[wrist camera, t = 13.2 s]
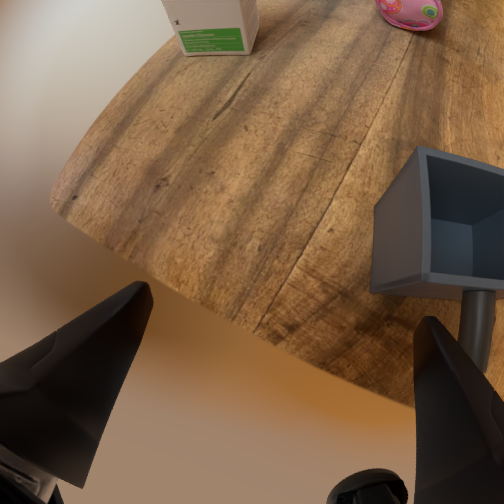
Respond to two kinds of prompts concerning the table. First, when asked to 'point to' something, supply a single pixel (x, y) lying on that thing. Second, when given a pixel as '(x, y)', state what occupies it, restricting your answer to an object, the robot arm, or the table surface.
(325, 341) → the table surface
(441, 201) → the grey box with peg
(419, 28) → the pencil case
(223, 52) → the cosmetic box
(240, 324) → the table surface
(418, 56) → the table surface
